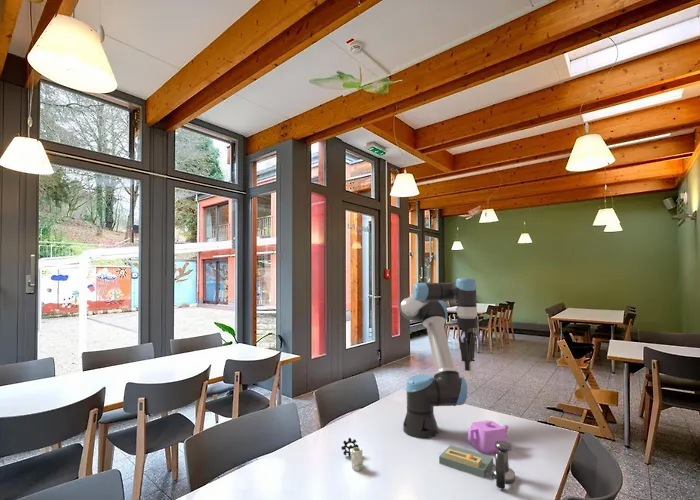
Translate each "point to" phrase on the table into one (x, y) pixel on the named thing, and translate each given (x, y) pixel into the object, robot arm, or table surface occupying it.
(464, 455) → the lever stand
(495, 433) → the teapot
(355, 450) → the valve
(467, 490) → the table surface
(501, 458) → the cam capstan
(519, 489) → the table surface
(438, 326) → the robot arm
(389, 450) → the table surface
